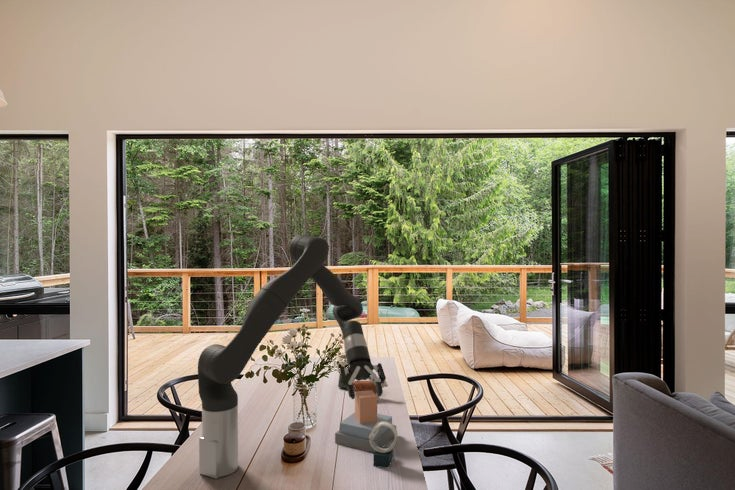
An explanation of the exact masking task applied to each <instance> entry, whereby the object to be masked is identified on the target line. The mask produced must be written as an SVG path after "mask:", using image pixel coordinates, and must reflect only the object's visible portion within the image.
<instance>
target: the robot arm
mask: <svg viewBox="0 0 735 490" xmlns="http://www.w3.org/2000/svg"><path fill="white" fill-rule="evenodd" d="M288 252H289V255H290V257H291V259H292V261H294V262H295V263H294V264H293V265H292V266H291V267H290V268H289V269H287V270H285V271H284V272H282V273H281V274H278V275H277V276H275V277H274V278H272V279H270V280H269V281H268V282H266V283H265V284H264V285H263V286H262V287H261V288H260V289H259V290H258V292H256V294H255V295H254V297H253V298H252V299H251V300H250V302H249V304H248V306H247V308H246V312H245V315H244V318H243V322H242V324H241V327H240V329H239V331H238V332H237V333H236V334H235V336H234V337H233V338H232V339H231V340H230V342H229V343H228V344H227V345H226V346H225V345H223V344H211V345H208V346H206V347H205V348H204V349H203V350H202V352H201V354H200V355H199V357H198V362H197V381H198V384H197V386H198V394H199V398H200V401H201V437H199V439H198V444H199V445H198V453H199V456H198V457H199V460H198V462H199V470H198V472H199V474H200V475H202V476H206V477H209V478H211V479H215V480H216V479H218V478H221V477H225V476H228V475H231V474H233V473H234V472H236V471H237V470H238V468H239V396H238V392H237V391H236V389H234V387H233V384H232V382H234V381H235V380H237V378H238V377H240V375H241V373H242V372H243V371H244V370H245V368H246V366H247V365H248V363H249V361H250V360H251V357H252V356H253V354H254V352H255V351H256V349H257V348H258V346H259V345H260V343H261V342H262V341H263V339H264V338H265V337H266V335H267V334H268V332H269V331H270V330H271V328H273V326H274V325H275V324H276V322H277V321H278V319H279V318H280V316H282V315H283V313H284V312H285V310H286V309H287V308H288V306H289V304H290V303H291V302H292V300H294V298H295V296H297V294H298V293H299V291H300V290H301V289H302V287H303V286H304V285H305V284H306V283H307V282H308V281H309V280H310V279H312V280H313V282H314V283H315V284H316V285H317V287H318V288H320V290H321V291H322V293H323V295H324V296H325V298H326V299H327V300H328V301H329V303H330V304H331V305H332V306H333V308H332V315H333V317H334V319H335V321H336V322H337V324H338V326H339V328H340V330H341V333H342V334H341V335H342V339H343V346H344V353H345V354H346V358H347V363H348V368H344V367H343V366H341V368H340V370H339V372H338V373H339V375H340V382H341V387H342V388H344V387H347V389H346V390H347V393H348V398H350V399H351V400H355V390H354V388H355V387H354V388H353V385H352V384H353V383H354V382H355V381H371V382H373V383H374V384H375V385H376V386H375V387H376V391H377V395H378V397H379V398H380V397H381V396H382V394H383V392H384V390H383V388H382V386H381V384H382V383H384V381H385V380H386V379H387V377H386V374H385V371H384V368H383V366H382V363H381V362H379V363H378V364H375V365H374V364H372V361H371V355H370V352H369V348H368V344H367V341H366V339H365V334H364V330H363V327H362V323H360V322H359V321H358V320H354V319H356V318H359V317H361V316H362V314H363V312H364V307H363V304H362V302H361V301H360V300H359V299H358V298H357V297H356V296H354V295H353V294H352V293H351V292H350V291H348V289H347V288H346V287H345V285H344V284H343V282H342V281H341V279H340V278H339V277H338V275H336V274H335V273H334V272H332V271H331V270H330V269H329V268H328V267H327V266H326V265H324V263H325V262H326V260H327V258H328V256H329V252H330V246H329V243H328V242H327V240H326V239H325V238H323V237H319V236H313V235H309V234H308V235H307V234H299V235H296V236H294V237H293V238H292V239H291V241H290V243H289V246H288ZM373 370H374V371H375V372H374V371H373ZM347 372H348V373H349V374H350V375H351V378H350V380H349V382H347V381H346V378H345V375H346V373H347ZM376 373H377V374H376ZM377 375H378V376H377Z"/></svg>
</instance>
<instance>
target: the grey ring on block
mask: <svg viewBox="0 0 735 490" xmlns="http://www.w3.org/2000/svg"><path fill="white" fill-rule="evenodd" d="M393 425H394V424H393V423H392V424H391V423H389V422H384V421H381V422H380V423H377V424H376V425H375V427H374V429H373V430H372V432H371V434H370V435H369V438H370V440H369V442H370V444H371V446H372V448H373V449H374V450H376V451H375V453H374V452H373V462H372V463H373V467H378V466H380V467H379V468H386V467H389V466H391V464H392V462H393V459H394V458H393V457H394V447H395V445H396V443H397V441H398V437H399V436H398V431H397V427H396V428H395V427H394V426H393ZM381 426H387V427H389V428H390V429H392V431H393V432H394V434H395V436H394V437H393V442H392V443H391V444H390V445H389V446H384V447H383V446H377V445H376V444H375V443H374V441H373V439H374V438H375V436H376V435H377V433H378V431H379V430H380V428H381ZM392 458H393V459H392ZM391 461H392V462H391ZM390 463H391V464H390ZM389 468H390V467H389Z"/></svg>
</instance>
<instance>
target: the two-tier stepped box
mask: <svg viewBox="0 0 735 490" xmlns="http://www.w3.org/2000/svg"><path fill="white" fill-rule="evenodd" d="M381 421H384V422H389V423H391V424H392V425H393V426H394V427H395V428H396V429H397V425H396V424H393V416H392V415H391V416H390V415H387V414H381V413H377V422H373V423H365V424H360V423H359V422H358V421H357V419H356V418H355V412H353V413H352V414H351V415H349V416H348V417H346V418H345V419H343V420H342V421H340V422H339V430H338V431H336V432H335V433H334V436H335V437H334V443H335V444H336V445H337V444H338V445H341V446H345V447H346V446H347V447H350V448H355V449H359V450H363V451H367V452H369V453H370V452H371V453H373V454H374V453H375V451H376V450H374V449H373V448H372V446H371V444H370V442H369V440H370V438H369V435H370V434H371V432H372V430H373V429H374V427H375V425H376V424H377V423H380V422H381ZM394 436H395V434H394V432H393V431H392V429H390V428H389V427H387V426H381V428H380V430H379V431H378V433H377V435H376V436H375V438H374V439H373V441H374V443H375V444H376V445H377V446H384V445H385V444H386V445H387V444H388V443H389V442H391V440H392V439H394ZM386 445H385V446H386ZM385 446H384V447H385Z"/></svg>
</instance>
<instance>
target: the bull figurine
mask: <svg viewBox="0 0 735 490" xmlns="http://www.w3.org/2000/svg"><path fill="white" fill-rule="evenodd" d="M375 386H376V385H375V384H374V383H373V382H371V381H370V380H359V381H357V380H354V382H353V388H354V393H355V392H360V391H370V390H372V391H373V392H374V393H375V394H376V395H377V391H376V387H375ZM381 386H382V389H383V388H387V387H389V384H388V381H386V379H385V381H384V383H382V384H381ZM379 398H380V396H379V397H378V395H377V399H379Z"/></svg>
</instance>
